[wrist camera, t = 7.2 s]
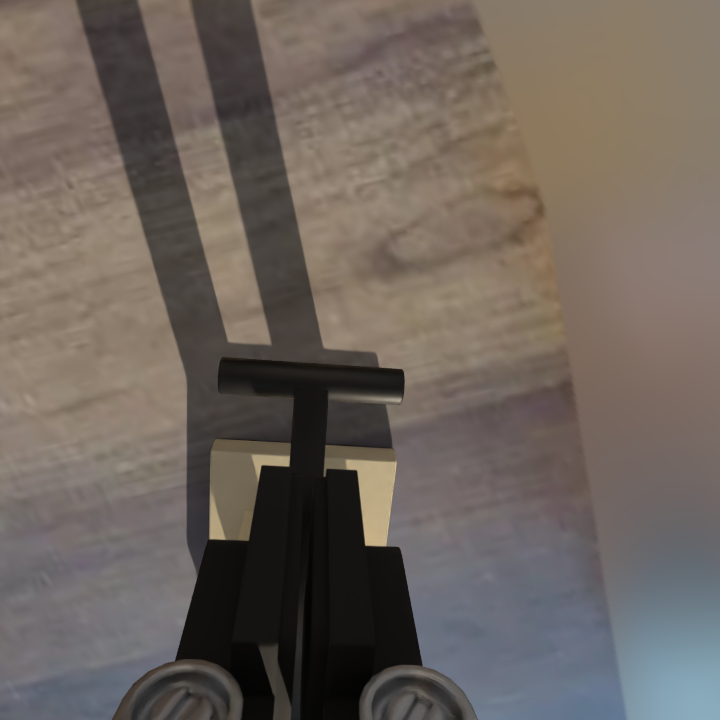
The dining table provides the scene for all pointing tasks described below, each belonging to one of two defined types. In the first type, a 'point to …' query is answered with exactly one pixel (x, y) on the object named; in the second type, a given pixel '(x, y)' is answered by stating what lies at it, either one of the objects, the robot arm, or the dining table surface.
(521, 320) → the dining table surface
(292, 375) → the lever
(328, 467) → the bracket
